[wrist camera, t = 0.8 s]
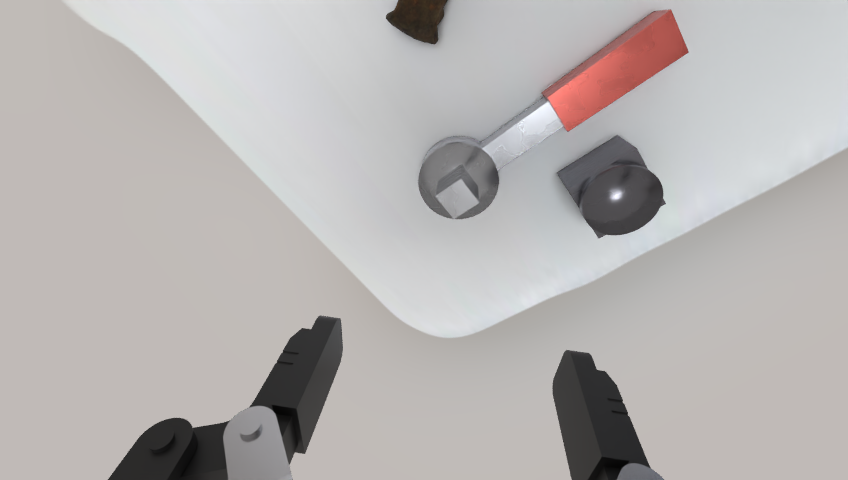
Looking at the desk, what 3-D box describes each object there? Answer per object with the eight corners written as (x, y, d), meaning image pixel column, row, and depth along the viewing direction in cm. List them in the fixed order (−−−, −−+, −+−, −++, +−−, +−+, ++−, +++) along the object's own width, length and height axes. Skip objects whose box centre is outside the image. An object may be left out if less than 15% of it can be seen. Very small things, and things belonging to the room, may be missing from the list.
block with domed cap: (618, 133, 30) (644, 151, 26) (646, 185, 32) (675, 210, 28) (555, 172, 32) (569, 195, 28) (585, 219, 34) (602, 247, 30)
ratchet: (643, -14, 25) (688, -25, 20) (680, 72, 28) (729, 82, 22) (406, 166, 34) (395, 190, 29) (450, 220, 36) (448, 251, 31)
